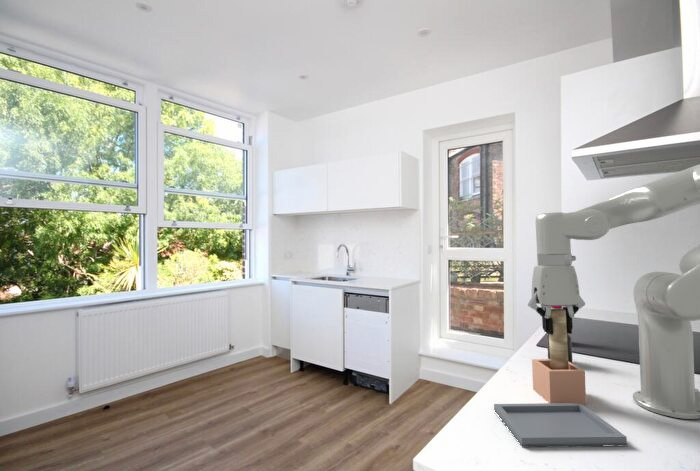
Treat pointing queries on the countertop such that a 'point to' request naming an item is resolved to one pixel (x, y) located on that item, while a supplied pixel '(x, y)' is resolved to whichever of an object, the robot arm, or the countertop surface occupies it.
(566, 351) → the dowel
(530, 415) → the tray
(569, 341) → the supplement bottle
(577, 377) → the deep cup
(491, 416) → the countertop surface
